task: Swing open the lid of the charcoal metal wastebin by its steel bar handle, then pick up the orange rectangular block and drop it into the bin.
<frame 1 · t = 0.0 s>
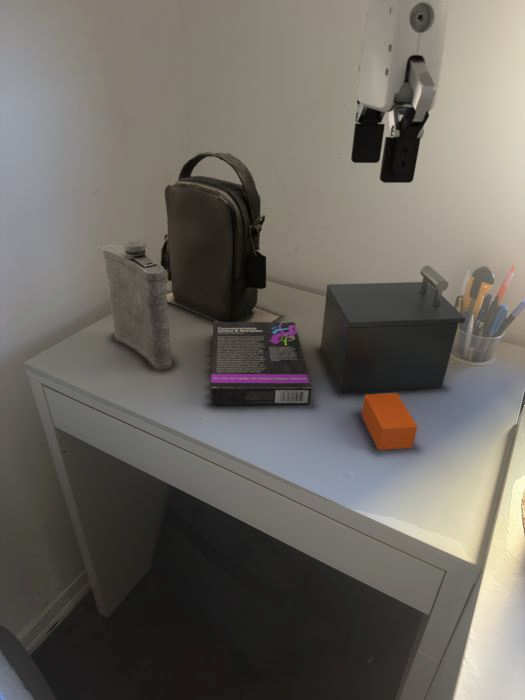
hand: (379, 171, 52), 32 cm above the table, tool pointing down, fingers open, 9 cm apart
box: (257, 368, 78), on the table
flask: (144, 350, 81), on the table
shoulder bag: (217, 308, 95), on the table
bin: (377, 367, 79), on the table
orange rectangular block: (385, 430, 65), on the table
bin lid: (394, 289, 72), point 13 cm above the table, hinge at 0.0°
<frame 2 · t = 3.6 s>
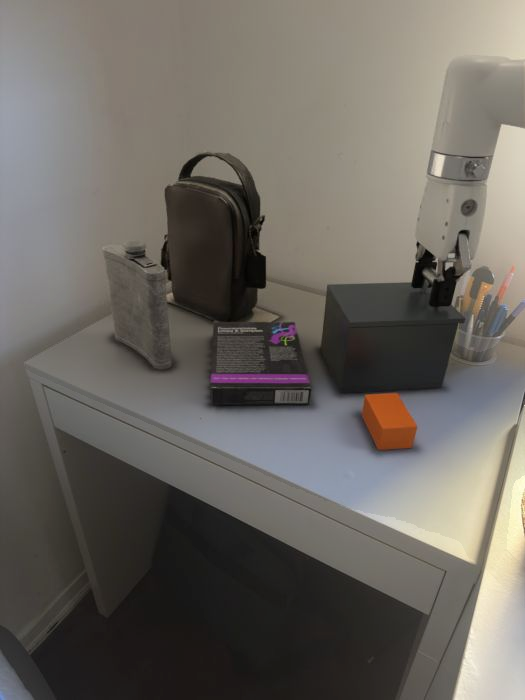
hand: (430, 295, 73), 12 cm above the table, tool pointing down, fingers closed on bin lid, 5 cm apart
bin lid: (394, 289, 72), point 13 cm above the table, hinge at 0.0°, touching gripper
everything else where it was.
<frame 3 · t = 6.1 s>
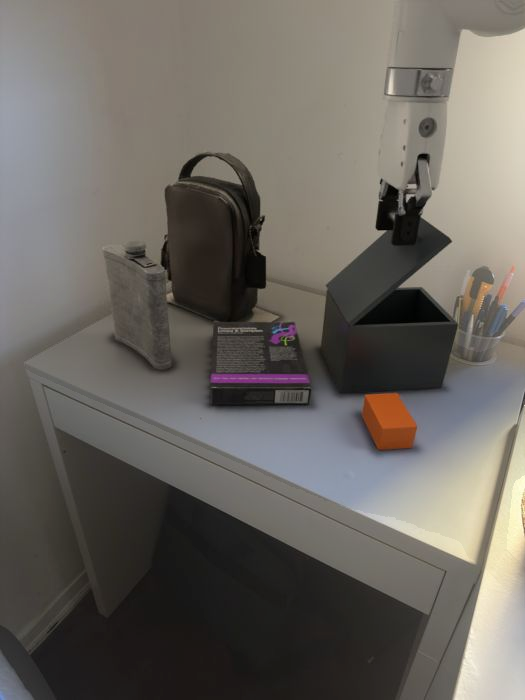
hand: (394, 235, 67), 21 cm above the table, tool pointing down, fingers closed on bin lid, 5 cm apart
bin lid: (373, 255, 69), point 19 cm above the table, hinge at 45.0°, touching gripper
everything else where it was.
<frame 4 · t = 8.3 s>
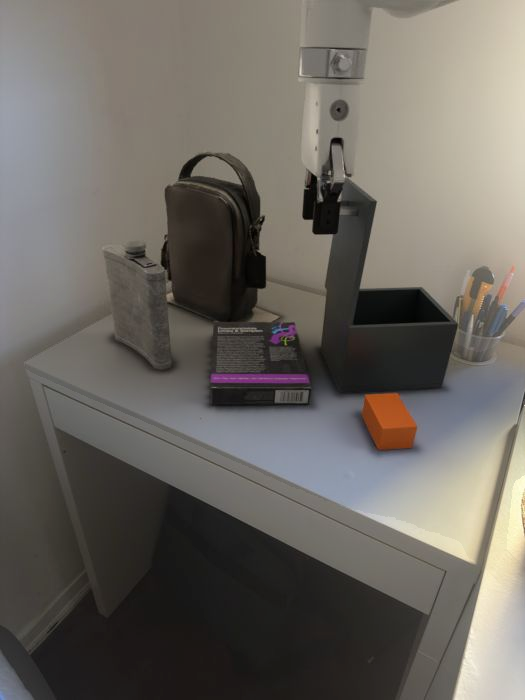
hand: (319, 224, 65), 23 cm above the table, tool pointing down, fingers closed on bin lid, 5 cm apart
bin lid: (332, 249, 67), point 20 cm above the table, hinge at 86.7°, touching gripper
everything else where it was.
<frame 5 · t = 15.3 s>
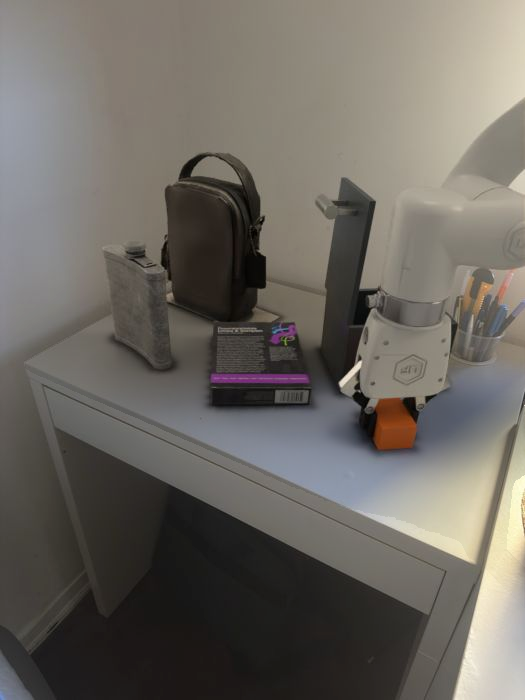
hand: (386, 428, 65), 0 cm above the table, tool pointing down, fingers closed on orange rectangular block, 4 cm apart
orange rectangular block: (385, 430, 65), on the table, touching gripper
bin lid: (331, 249, 67), point 20 cm above the table, hinge at 87.0°
everything else where it was.
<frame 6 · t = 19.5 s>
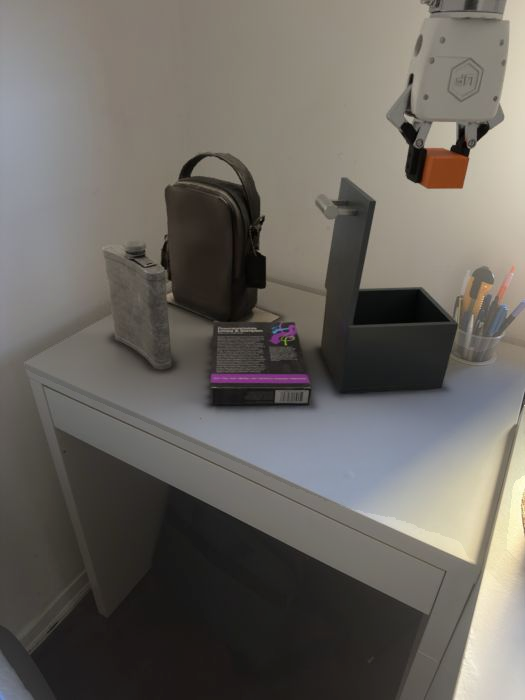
hand: (433, 179, 62), 29 cm above the table, tool pointing down, fingers closed on orange rectangular block, 4 cm apart
orange rectangular block: (432, 182, 63), point 29 cm above the table, touching gripper
everything else where it was.
when the fingers open (11 cm above the table, at t = 23.7 s): orange rectangular block drops 10 cm, resting on bin.
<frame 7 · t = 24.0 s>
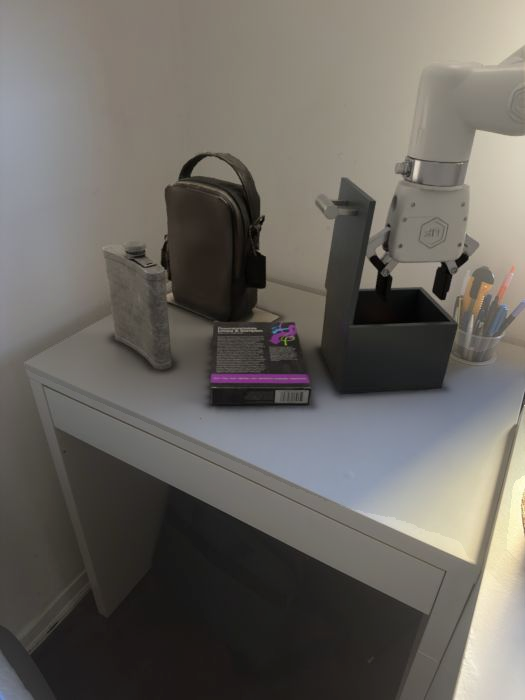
hand: (410, 296, 73), 12 cm above the table, tool pointing down, fingers open, 8 cm apart
orange rectangular block: (397, 362, 79), point 1 cm above the table, touching bin
everything else where it was.
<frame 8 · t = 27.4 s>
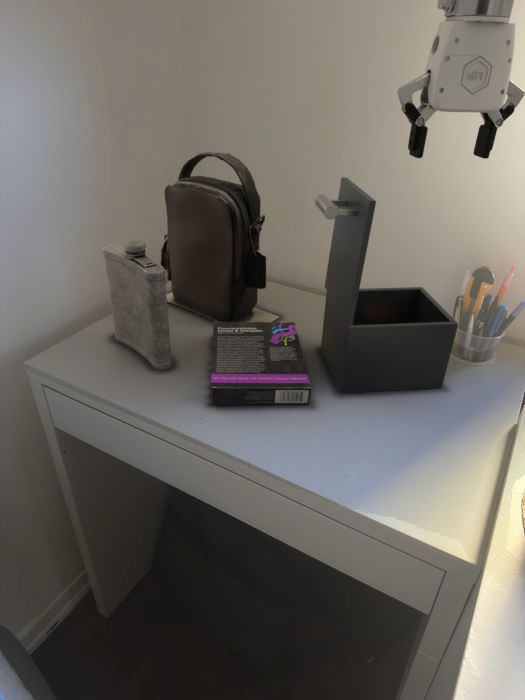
hand: (448, 156, 70), 30 cm above the table, tool pointing down, fingers open, 9 cm apart
nothing on the table moved.
at the end: bin lid at +87° (first picture: +0°); orange rectangular block inside the target area in the bin (3.0 cm from its centre), point 0.8 cm above the bin's base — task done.
